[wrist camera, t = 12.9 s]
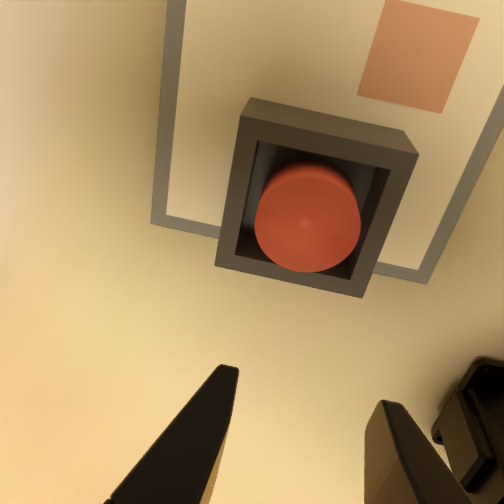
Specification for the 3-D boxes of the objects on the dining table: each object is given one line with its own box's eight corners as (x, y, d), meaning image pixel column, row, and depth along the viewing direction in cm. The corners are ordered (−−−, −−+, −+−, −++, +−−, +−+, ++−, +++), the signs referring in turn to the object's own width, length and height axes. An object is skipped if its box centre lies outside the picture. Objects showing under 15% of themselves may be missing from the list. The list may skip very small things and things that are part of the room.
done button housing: (403, 130, 17) (419, 154, 15) (355, 259, 20) (362, 298, 18) (250, 96, 17) (240, 115, 15) (226, 230, 20) (214, 265, 18)
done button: (368, 170, 16) (375, 191, 14) (339, 253, 18) (343, 281, 16) (270, 148, 16) (266, 167, 14) (252, 234, 18) (246, 260, 16)
